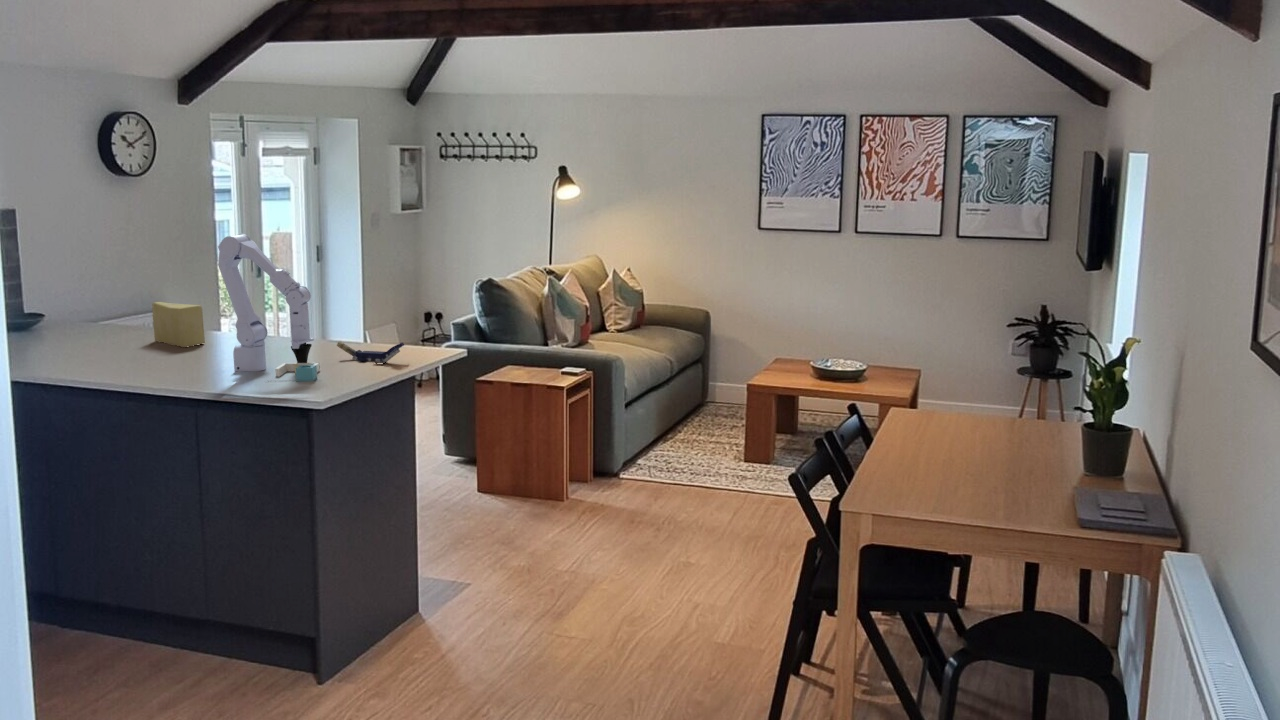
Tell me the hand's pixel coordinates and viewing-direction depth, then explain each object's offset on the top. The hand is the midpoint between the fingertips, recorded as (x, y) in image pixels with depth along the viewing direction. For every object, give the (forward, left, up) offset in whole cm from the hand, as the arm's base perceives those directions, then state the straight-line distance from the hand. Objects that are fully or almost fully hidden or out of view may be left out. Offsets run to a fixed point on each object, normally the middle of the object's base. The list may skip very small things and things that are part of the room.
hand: (302, 367), depth 364 cm
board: (+1, -4, -2) cm, 5 cm away
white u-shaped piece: (0, -6, -1) cm, 6 cm away
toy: (+18, +16, -2) cm, 24 cm away
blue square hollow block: (+5, -15, -1) cm, 15 cm away
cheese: (-62, +58, -2) cm, 84 cm away
